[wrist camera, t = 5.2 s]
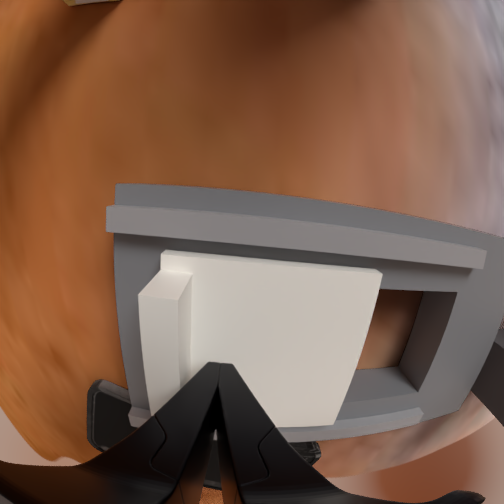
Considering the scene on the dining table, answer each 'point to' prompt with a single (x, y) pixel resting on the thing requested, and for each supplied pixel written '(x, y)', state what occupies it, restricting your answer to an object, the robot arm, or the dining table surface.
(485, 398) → the plug
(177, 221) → the socket plate
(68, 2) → the candy box
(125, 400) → the phone
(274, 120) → the dining table surface
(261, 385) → the shutter
